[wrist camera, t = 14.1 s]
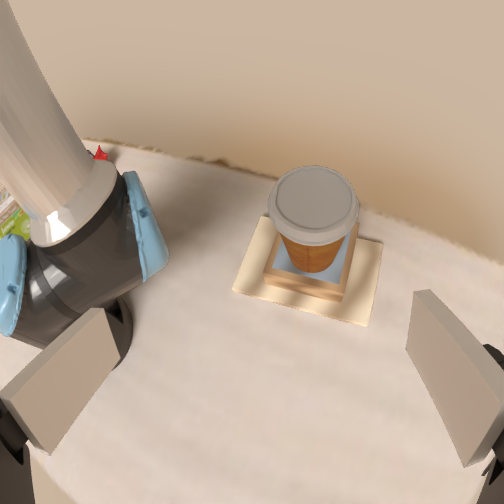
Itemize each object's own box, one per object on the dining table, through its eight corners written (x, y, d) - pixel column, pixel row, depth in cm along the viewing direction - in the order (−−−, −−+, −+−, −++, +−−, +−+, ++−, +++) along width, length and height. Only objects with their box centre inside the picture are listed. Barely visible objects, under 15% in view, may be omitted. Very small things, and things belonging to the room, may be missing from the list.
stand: (233, 291, 45) (225, 276, 40) (261, 219, 50) (257, 200, 45) (366, 326, 39) (375, 316, 34) (381, 247, 44) (389, 229, 40)
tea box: (16, 275, 54) (-27, 245, 41) (13, 247, 58) (-25, 216, 45) (57, 237, 56) (16, 199, 43) (51, 211, 61) (16, 174, 48)
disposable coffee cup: (303, 210, 43) (301, 150, 32) (360, 244, 39) (376, 188, 29) (262, 258, 40) (246, 206, 30) (320, 299, 37) (327, 256, 26)
